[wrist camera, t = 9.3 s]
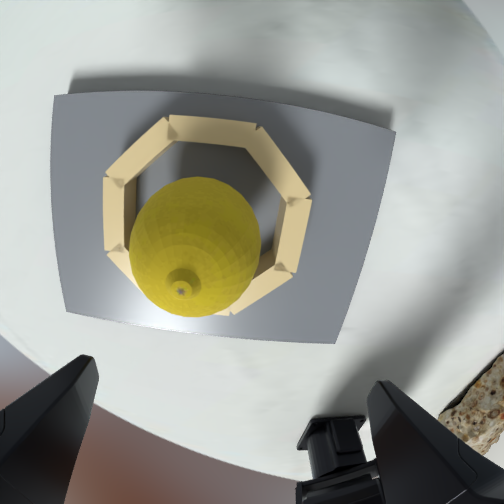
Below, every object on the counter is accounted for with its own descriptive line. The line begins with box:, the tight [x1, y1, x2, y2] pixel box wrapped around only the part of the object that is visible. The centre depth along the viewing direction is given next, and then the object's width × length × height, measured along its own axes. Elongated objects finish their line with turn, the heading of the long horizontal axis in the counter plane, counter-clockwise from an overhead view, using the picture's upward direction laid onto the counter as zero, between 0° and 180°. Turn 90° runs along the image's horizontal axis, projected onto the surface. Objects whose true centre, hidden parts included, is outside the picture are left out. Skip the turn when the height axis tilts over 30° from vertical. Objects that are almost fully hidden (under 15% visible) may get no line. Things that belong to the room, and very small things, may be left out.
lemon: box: [129, 177, 261, 317], centre depth 13 cm, size 6×6×8 cm
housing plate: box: [50, 91, 396, 344], centre depth 17 cm, size 15×20×4 cm
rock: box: [438, 354, 504, 455], centre depth 27 cm, size 21×14×10 cm
